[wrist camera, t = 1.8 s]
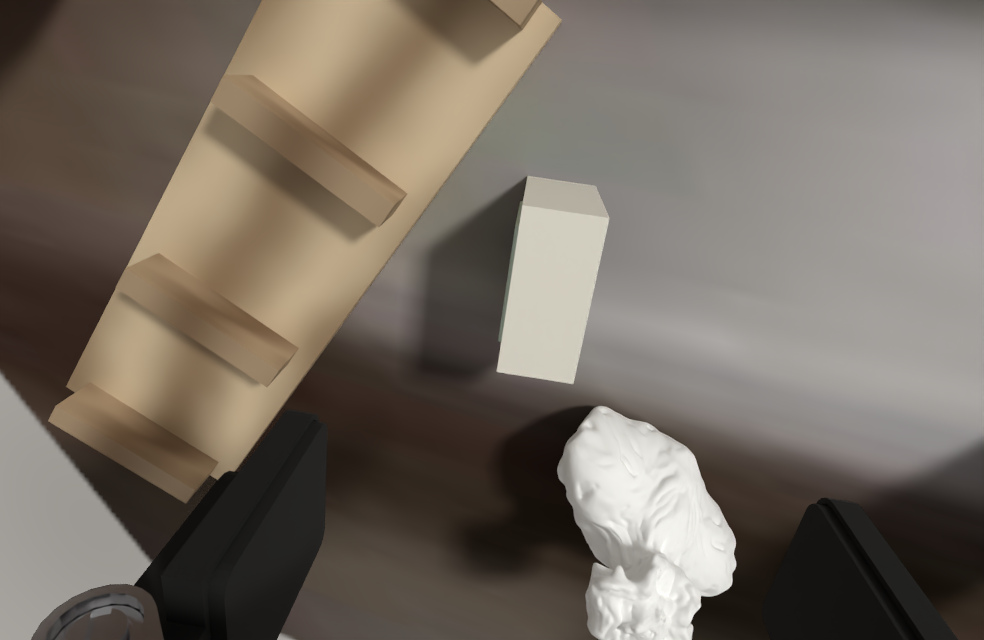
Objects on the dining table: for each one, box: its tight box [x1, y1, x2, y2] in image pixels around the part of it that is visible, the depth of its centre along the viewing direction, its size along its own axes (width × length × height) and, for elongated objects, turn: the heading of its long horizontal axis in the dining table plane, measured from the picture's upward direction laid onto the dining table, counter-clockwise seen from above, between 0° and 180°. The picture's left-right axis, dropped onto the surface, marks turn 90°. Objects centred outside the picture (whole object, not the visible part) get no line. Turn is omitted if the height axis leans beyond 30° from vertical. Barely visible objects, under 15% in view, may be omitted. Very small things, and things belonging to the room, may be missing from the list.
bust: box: [557, 406, 736, 640], centre depth 29 cm, size 12×8×11 cm
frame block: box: [497, 176, 609, 384], centre depth 25 cm, size 3×7×6 cm, turn 173°
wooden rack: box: [48, 0, 562, 503], centre depth 27 cm, size 10×30×4 cm, turn 143°
